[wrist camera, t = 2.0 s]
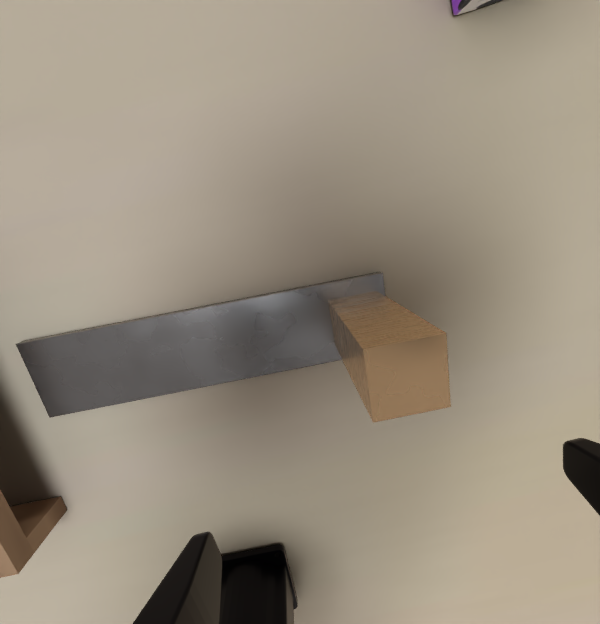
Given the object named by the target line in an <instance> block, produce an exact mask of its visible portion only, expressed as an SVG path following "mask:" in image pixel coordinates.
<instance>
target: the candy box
mask: <svg viewBox="0 0 600 624" xmlns="http://www.w3.org/2000/svg"><path fill="white" fill-rule="evenodd" d="M451 1H452V8H453V14H454V15H459V14H462V13H465V12H468V11H472V10H475V9H478V8H481V7H483V6H487V5H490V4H493V3H495V2H497V1H501V0H451Z"/></svg>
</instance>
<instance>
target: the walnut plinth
mask: <svg viewBox="0 0 600 624" xmlns="http://www.w3.org/2000/svg"><path fill="white" fill-rule="evenodd" d="M66 511H67V508H66V506H65V504H64V502H63V500H62V498H61V496H60V497H55V498H50V499H45V500H40V501H35V502H30V503H25V504H20V505H15V506H10V507H9V505H8V503H7V501H6V499H5V498H4V496H3V494H2V492H1V490H0V578H1V577H6V576H10V575H15V574H19V572H20V571H21V570H22V568H23V567H24V566H25V564H26V563H27V562H28V560H29V559H30V558H31V557H32V555H33V554H34V553H35V551H36V550H37V549H38V547H39V546H40V545H41V543H42V542H43V541H44V539H45V538H46V537H47V536H48V534H49V533H50V532H51V530H52V529H53V528H54V526H55V525H56V524H57V522H58V521H59V520H60V519H61V517H62V516H63V515H64V513H65V512H66Z"/></svg>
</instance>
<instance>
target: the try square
mask: <svg viewBox="0 0 600 624" xmlns="http://www.w3.org/2000/svg"><path fill="white" fill-rule="evenodd" d="M16 345H17V348H18V350H19V352H20V354H21V356H22V358H23V361H24V363H25V365H26V367H27V369H28V371H29V374H30V376H31V378H32V380H33V382H34V385H35V387H36V389H37V391H38V393H39V395H40V398H41V400H42V402H43V404H44V406H45V408H46V411H47V413H48V415H49V417H54V416H59V415H65V414H70V413H75V412H80V411H85V410H90V409H95V408H100V407H105V406H110V405H115V404H120V403H125V402H130V401H135V400H140V399H145V398H150V397H155V396H160V395H165V394H170V393H176V392H181V391H186V390H191V389H196V388H201V387H206V386H211V385H216V384H221V383H226V382H231V381H236V380H241V379H246V378H251V377H256V376H261V375H266V374H271V373H276V372H282V371H287V370H292V369H297V368H302V367H307V366H312V365H317V364H322V363H327V362H332V361H337V360H343V362H344V364H345V366H346V368H347V370H348V372H349V374H350V376H351V378H352V380H353V383H354V385H355V387H356V389H357V391H358V393H359V395H360V397H361V399H362V401H363V403H364V405H365V407H366V409H367V411H368V413H369V415H370V417H371V419H372V421H373V422H378V421H383V420H388V419H393V418H398V417H403V416H408V415H413V414H418V413H423V412H428V411H432V410H437V409H442V408H447V407H451V405H450V388H449V371H448V355H447V338H446V333H445V332H443V331H442V330H440V329H438V328H437V327H435V326H434V325H432V324H430V323H429V322H427V321H425V320H424V319H422V318H420V317H419V316H417V315H415V314H414V313H412V312H410V311H409V310H407V309H406V308H404V307H402V306H401V305H399V304H397V303H396V302H394V301H392V300H391V299H389V298H387V297H386V296H385V289H384V280H383V273H381V272H376V273H371V274H366V275H361V276H356V277H350V278H345V279H340V280H335V281H330V282H325V283H320V284H314V285H309V286H304V287H299V288H294V289H289V290H283V291H278V292H273V293H268V294H263V295H258V296H252V297H247V298H242V299H237V300H232V301H227V302H222V303H216V304H211V305H206V306H201V307H196V308H191V309H185V310H180V311H175V312H170V313H165V314H160V315H155V316H149V317H144V318H139V319H134V320H129V321H124V322H118V323H113V324H108V325H103V326H98V327H93V328H87V329H82V330H77V331H72V332H67V333H62V334H57V335H51V336H46V337H41V338H36V339H31V340H26V341H22V342H20V343H18V344H16Z"/></svg>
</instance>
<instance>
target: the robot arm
mask: <svg viewBox="0 0 600 624" xmlns="http://www.w3.org/2000/svg"><path fill="white" fill-rule="evenodd" d="M563 469H564V472H565V474H566V476H567V477H568V479H569V480H570V481H571V482H572V483H573V485H574V486H575V487H576V488H577V489H578V491H579V492H580V493H581V494H582V495H583V496H584V498H585V499H586V500H587V501H588V502H589V504H590V505H591V506H592V507H593V508H594V509H595V511H596V512H597V513H598V514H599V515H600V444H599V443H596V442H593V441H590V440H588V439H584V438H578V439H574V440H570V441H566V442H565V443H564V444H563ZM296 608H297V596H296V592H295V588H294V584H293V581H292V577H291V573H290V569H289V565H288V561H287V557H286V553H285V549H284V547H283V546H282V545H274V546H270V547H265V548H260V549H255V550H250V551H245V552H240V553H235V554H231V555H226V556H221V554H220V551H219V549H218V547H217V544H216V542H215V540H214V537H213V535H212V534H211V533H210V532H204V533H200V534H196V535H194V536H193V537H192V538H191V539H190V541H189V542H188V544H187V545H186V547H185V548H184V550H183V551H182V552H181V554H180V555H179V557H178V558H177V560H176V561H175V563H174V564H173V566H172V567H171V569H170V570H169V571H168V573H167V574H166V576H165V577H164V579H163V580H162V582H161V583H160V585H159V586H158V587H157V589H156V590H155V592H154V593H153V595H152V596H151V598H150V599H149V601H148V602H147V604H146V605H145V606H144V608H143V609H142V611H141V612H140V614H139V615H138V617H137V618H136V620H135V621H134V622H133V624H294V612H293V610H294V609H296Z"/></svg>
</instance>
